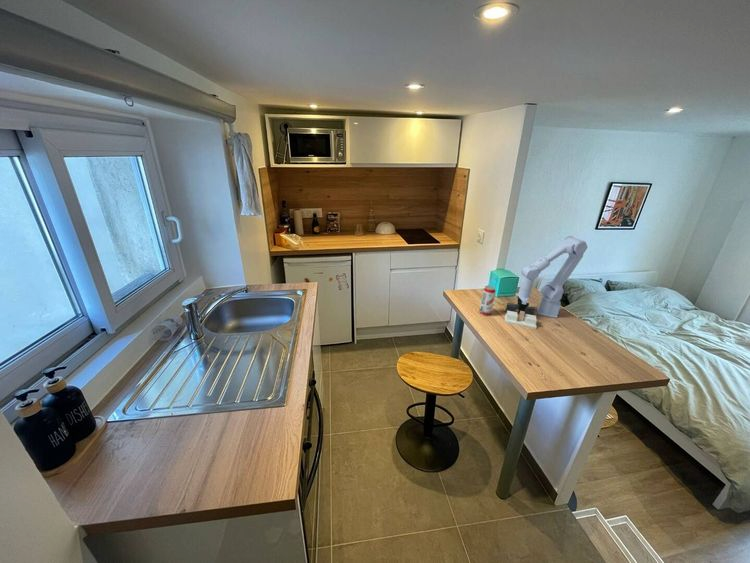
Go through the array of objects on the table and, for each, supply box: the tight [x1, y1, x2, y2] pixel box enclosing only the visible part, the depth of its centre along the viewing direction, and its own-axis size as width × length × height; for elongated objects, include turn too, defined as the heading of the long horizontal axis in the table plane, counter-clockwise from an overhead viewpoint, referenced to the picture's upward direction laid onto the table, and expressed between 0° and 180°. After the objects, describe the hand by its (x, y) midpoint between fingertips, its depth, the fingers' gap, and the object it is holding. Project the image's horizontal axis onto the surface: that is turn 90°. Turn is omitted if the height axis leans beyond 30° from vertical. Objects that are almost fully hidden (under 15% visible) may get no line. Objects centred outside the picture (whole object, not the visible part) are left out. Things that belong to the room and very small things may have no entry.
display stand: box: [504, 310, 537, 330], centre depth 153 cm, size 15×8×6 cm, turn 69°
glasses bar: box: [505, 302, 536, 317], centre depth 161 cm, size 14×2×5 cm, turn 69°
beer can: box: [479, 285, 496, 316], centre depth 159 cm, size 6×6×16 cm
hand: (519, 309), depth 161 cm, fingers open, 7 cm apart
